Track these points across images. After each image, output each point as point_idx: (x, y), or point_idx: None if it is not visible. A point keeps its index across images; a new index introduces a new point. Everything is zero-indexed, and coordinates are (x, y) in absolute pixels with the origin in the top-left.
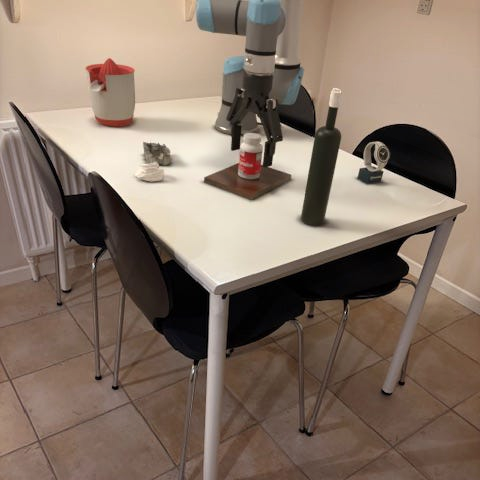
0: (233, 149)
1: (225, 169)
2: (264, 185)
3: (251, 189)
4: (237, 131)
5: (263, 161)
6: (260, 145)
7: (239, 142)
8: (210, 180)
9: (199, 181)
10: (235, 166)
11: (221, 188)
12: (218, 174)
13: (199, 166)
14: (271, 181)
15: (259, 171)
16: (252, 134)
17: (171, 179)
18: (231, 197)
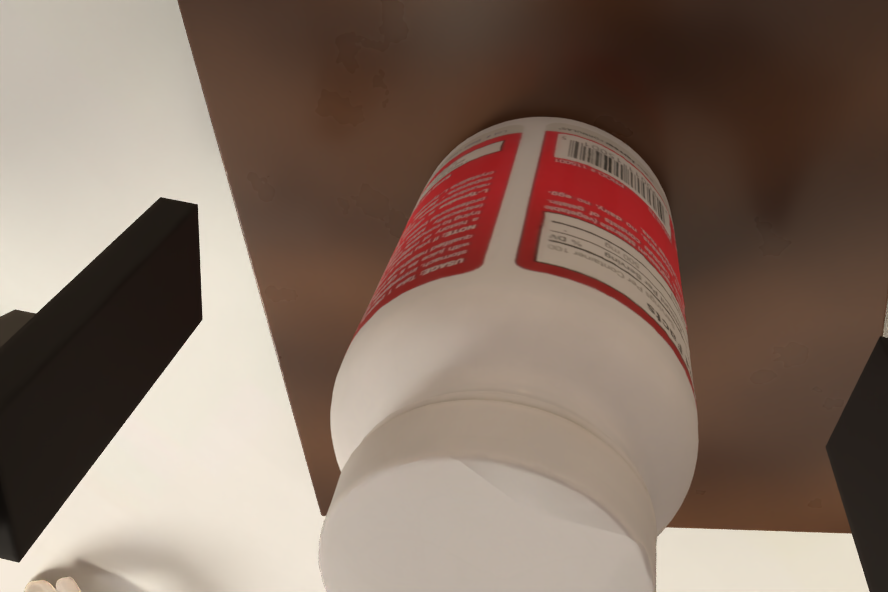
0: (194, 316)
1: (273, 276)
2: (838, 309)
3: (783, 461)
4: (60, 435)
5: (850, 500)
6: (647, 438)
7: (152, 273)
8: None
9: (298, 488)
10: (255, 131)
11: None
12: None
13: (23, 275)
14: (842, 158)
15: (675, 243)
16: (433, 547)
17: (174, 573)
18: (676, 546)
